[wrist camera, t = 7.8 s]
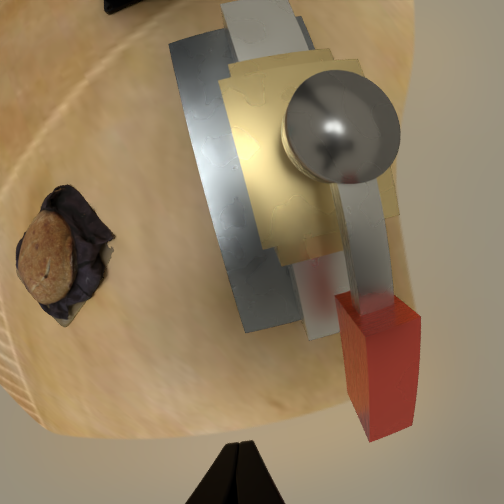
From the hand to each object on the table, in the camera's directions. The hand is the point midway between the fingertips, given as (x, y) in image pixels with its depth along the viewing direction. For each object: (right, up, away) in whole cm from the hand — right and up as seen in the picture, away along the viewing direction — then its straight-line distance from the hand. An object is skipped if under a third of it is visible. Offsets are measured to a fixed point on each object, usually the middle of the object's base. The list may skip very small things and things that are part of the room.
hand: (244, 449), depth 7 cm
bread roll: (-15, +5, +13) cm, 20 cm away
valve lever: (+4, +5, +3) cm, 7 cm away
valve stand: (+3, +12, +11) cm, 16 cm away
